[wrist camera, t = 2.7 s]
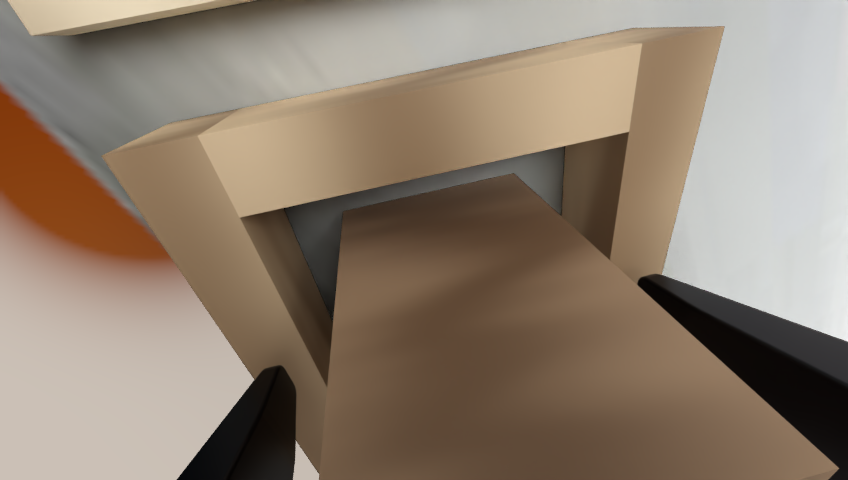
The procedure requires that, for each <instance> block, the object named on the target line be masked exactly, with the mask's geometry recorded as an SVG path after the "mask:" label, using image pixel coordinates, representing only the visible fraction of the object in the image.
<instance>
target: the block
mask: <svg viewBox="0 0 848 480" xmlns="http://www.w3.org/2000/svg"><path fill="white" fill-rule="evenodd" d="M838 469H839V468H838V467H837V466H836V465H835V464H834V463H833V462H832V461H831V460H829V459H828V458H827V457H826V456H825V455H824V454H823V453H822V452H821V451H820V450H818V449H817V448H816V447H815V446H814V445H813V444H812V443H811V442H810V441H809V440H807V439H806V438H805V437H804V436H803V435H802V434H801V433H800V432H799V431H798V430H796V429H795V428H794V427H793V426H792V425H791V424H790V423H789V422H788V421H786V420H785V419H784V418H783V417H782V416H781V415H780V414H779V413H778V412H777V411H775V410H774V409H773V408H772V407H771V406H770V405H769V404H768V403H767V402H766V401H764V400H763V399H762V398H761V397H760V396H759V395H758V394H757V393H756V392H755V391H753V390H752V389H751V388H750V387H749V386H748V385H747V384H746V383H745V382H743V381H742V380H741V379H740V378H739V377H738V376H737V375H736V374H735V373H734V372H732V371H731V370H730V369H729V368H728V367H727V366H726V365H725V364H724V363H723V362H721V361H720V360H719V359H718V358H717V357H716V356H715V355H714V354H713V353H712V352H710V351H709V350H708V349H707V348H706V347H705V346H704V345H703V344H702V343H701V342H699V341H698V340H697V339H696V338H695V337H694V336H693V335H692V334H691V333H689V332H688V331H687V330H686V329H685V328H684V327H683V326H682V325H681V324H680V323H678V322H677V321H676V320H675V319H674V318H673V317H672V316H671V315H670V314H669V313H667V312H666V311H665V310H664V309H663V308H662V307H661V306H660V305H659V304H658V303H656V302H655V301H654V300H653V299H652V298H651V297H650V296H649V295H648V294H646V293H645V292H644V291H643V290H642V289H641V288H640V287H639V286H638V285H637V284H635V283H634V282H633V281H632V280H631V279H630V278H629V277H628V276H627V275H626V274H624V273H623V272H622V271H621V270H620V269H619V268H618V267H617V266H616V265H615V264H613V263H612V262H611V261H610V260H609V259H608V258H607V257H606V256H605V255H604V254H602V253H601V252H600V251H599V250H598V249H597V248H596V247H595V246H594V245H592V244H591V243H590V242H589V241H588V240H587V239H586V238H585V237H584V236H583V235H581V234H580V233H579V232H578V231H577V230H576V229H575V228H574V227H573V226H572V225H570V224H569V223H568V222H567V221H566V220H565V219H564V218H563V217H562V216H561V215H559V214H558V213H557V212H556V211H555V210H554V209H553V208H552V207H551V206H549V205H548V204H547V203H546V202H545V201H544V200H543V199H542V198H541V197H540V196H538V195H537V194H536V193H535V192H534V191H533V190H532V189H531V188H530V187H529V186H527V185H526V184H525V183H524V182H523V181H522V180H521V179H520V178H519V177H518V176H516V175H515V174H514V173H512V174H508V175H503V176H499V177H494V178H490V179H485V180H481V181H476V182H472V183H467V184H463V185H458V186H454V187H449V188H445V189H440V190H436V191H431V192H427V193H422V194H418V195H413V196H409V197H404V198H400V199H395V200H391V201H386V202H382V203H378V204H373V205H369V206H364V207H360V208H355V209H351V210H346V211H343V219H342V230H341V241H340V252H339V263H338V274H337V285H336V296H335V308H334V319H333V330H332V341H331V352H330V363H329V374H328V385H327V397H326V408H325V419H324V430H323V441H322V452H321V463H320V474H319V480H828V479H829V478H830V477H831V476H832V475H833V474H834V473H835V472H836V471H837V470H838Z"/></svg>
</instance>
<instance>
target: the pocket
mask: <svg viewBox="0 0 848 480" xmlns="http://www.w3.org/2000/svg"><path fill="white" fill-rule="evenodd" d="M724 27H725V26H717V27H663V28H631V29H626V30H621V31H616V32H611V33H607V34H602V35H597V36H592V37H587V38H582V39H577V40H572V41H568V42H563V43H558V44H553V45H548V46H543V47H538V48H533V49H529V50H524V51H519V52H514V53H509V54H504V55H499V56H494V57H490V58H485V59H480V60H475V61H470V62H465V63H460V64H455V65H451V66H446V67H441V68H436V69H431V70H426V71H421V72H416V73H412V74H407V75H402V76H397V77H392V78H387V79H382V80H377V81H373V82H368V83H363V84H358V85H353V86H348V87H343V88H338V89H334V90H329V91H324V92H319V93H314V94H309V95H304V96H299V97H295V98H290V99H285V100H280V101H275V102H270V103H265V104H260V105H256V106H251V107H246V108H241V109H236V110H231V111H226V112H221V113H217V114H212V115H207V116H202V117H197V118H192V119H187V120H182V121H178V122H173V123H169V124H167V125H165V126H163V127H161V128H159V129H157V130H155V131H152V132H150V133H148V134H146V135H144V136H142V137H140V138H138V139H136V140H134V141H131V142H129V143H127V144H125V145H123V146H121V147H119V148H117V149H115V150H113V151H110V152H108V153H106V154H104V155H102V157H103V159H104V160H105V162H106V163H107V165H108V166H109V168H110V169H111V171H112V172H113V174H114V175H115V176H116V178H117V179H118V181H119V182H120V184H121V185H122V187H123V188H124V190H125V191H126V193H127V194H128V195H129V197H130V198H131V200H132V201H133V203H134V204H135V206H136V207H137V209H138V210H139V212H140V213H141V214H142V216H143V217H144V219H145V220H146V222H147V223H148V225H149V226H150V228H151V229H152V231H153V232H154V234H155V235H156V236H157V238H158V239H159V241H160V242H161V244H162V245H163V247H164V248H165V250H166V251H167V253H168V254H169V255H170V257H171V258H172V260H173V261H174V263H175V264H176V266H177V267H178V269H179V270H180V271H181V273H182V274H183V276H184V277H185V279H186V280H187V282H188V283H189V285H190V286H191V288H192V289H193V291H194V292H195V293H196V295H197V296H198V298H199V299H200V301H201V302H202V304H203V305H204V307H205V308H206V309H207V311H208V312H209V314H210V315H211V317H212V318H213V320H214V321H215V323H216V324H217V326H218V327H219V328H220V330H221V331H222V333H223V334H224V336H225V337H226V339H227V340H228V342H229V343H230V345H231V346H232V348H233V349H234V350H235V352H236V353H237V355H238V356H239V358H240V359H241V361H242V362H243V364H244V365H245V367H246V368H247V369H248V371H249V372H250V374H251V375H252V377H253V378H254V380H255V379H256V378H257V376H258V375H259V374H260V372H261V371H262V370H263V369H265V368H268V367H272V366H276V365H282V366H283V367H284V368H285V369H286V371H287V373H288V374H289V376H290V378H291V380H292V381H293V383H294V385H295V388H296V394H297V397H296V441H297V442H298V444H299V445H300V447H301V448H302V450H303V451H304V453H305V454H306V456H307V457H308V459H309V460H310V462H311V463H312V464H313V466H314V467H315V469H316V470H317V472H318V473H319V474H320V463H321V452H322V441H323V430H324V419H325V408H326V397H327V385H328V374H329V363H330V352H331V341H332V330H333V322H332V320H331V318H330V315H329V313H328V311H327V309H326V306H325V304H324V302H323V299H322V297H321V295H320V292H319V290H318V288H317V285H316V283H315V281H314V278H313V276H312V274H311V271H310V269H309V267H308V264H307V262H306V260H305V257H304V255H303V253H302V250H301V248H300V246H299V244H298V241H297V239H296V237H295V234H294V232H293V230H292V227H291V225H290V223H289V220H288V218H287V216H286V213H285V211H284V209H283V208H286V207H290V206H295V205H299V204H304V203H308V202H313V201H317V200H322V199H326V198H331V197H335V196H340V195H345V194H349V193H354V192H358V191H363V190H367V189H372V188H376V187H381V186H385V185H390V184H394V183H399V182H404V181H408V180H413V179H417V178H422V177H426V176H431V175H435V174H440V173H444V172H449V171H453V170H458V169H463V168H467V167H472V166H476V165H481V164H485V163H490V162H494V161H499V160H503V159H508V158H512V157H517V156H521V155H526V154H531V153H535V152H540V151H544V150H549V149H553V148H558V147H562V146H565V159H564V178H563V197H562V217H563V218H564V219H565V220H566V221H567V222H568V223H569V224H570V225H572V226H573V227H574V228H575V229H576V230H577V231H578V232H579V233H580V234H581V235H583V236H584V237H585V238H586V239H587V240H588V241H589V242H590V243H591V244H592V245H594V246H595V247H596V248H597V249H598V250H599V251H600V252H601V253H602V254H604V255H605V256H606V257H607V258H608V259H609V260H610V261H611V262H612V263H613V264H615V265H616V266H617V267H618V268H619V269H620V270H621V271H622V272H623V273H624V274H626V275H627V276H628V277H629V278H630V279H631V280H632V281H633V282H634V283H635V284H637V282H638V280H639V278H640V277H642V276H647V275H651V274H660V275H662V271H663V267H664V263H665V259H666V255H667V251H668V247H669V243H670V239H671V235H672V232H673V228H674V224H675V220H676V216H677V212H678V208H679V204H680V200H681V196H682V192H683V188H684V184H685V180H686V176H687V172H688V169H689V165H690V161H691V157H692V153H693V149H694V145H695V141H696V137H697V133H698V129H699V125H700V121H701V117H702V113H703V109H704V106H705V102H706V98H707V94H708V90H709V86H710V82H711V78H712V74H713V70H714V66H715V62H716V58H717V54H718V50H719V46H720V43H721V39H722V35H723V31H724Z"/></svg>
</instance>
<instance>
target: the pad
mask: <svg viewBox="0 0 848 480" xmlns="http://www.w3.org/2000/svg"><path fill="white" fill-rule="evenodd" d="M250 1H255V0H8V2H9V3H10V5H11V6H12V8H13V9H14V11H15V12H16V14H17V15H18V17H19V18H20V20H21V21H22V23H23V24H24V26H25V27H26V29H27V30H28V32H29V33H30V35H31V36H67V35H77V34H82V33H87V32H93V31H98V30H103V29H108V28H114V27H119V26H124V25H129V24H135V23H140V22H145V21H150V20H156V19H161V18H166V17H171V16H177V15H182V14H187V13H192V12H198V11H203V10H208V9H213V8H219V7H224V6H229V5H234V4H240V3H245V2H250Z"/></svg>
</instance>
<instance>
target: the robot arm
mask: <svg viewBox="0 0 848 480" xmlns="http://www.w3.org/2000/svg"><path fill="white" fill-rule="evenodd" d="M637 285H638V286H639V287H640V288H641V289H642V290H643V291H644V292H645V293H646V294H648V295H649V296H650V297H651V298H652V299H653V300H654V301H655V302H656V303H658V304H659V305H660V306H661V307H662V308H663V309H664V310H665V311H666V312H667V313H669V314H670V315H671V316H672V317H673V318H674V319H675V320H676V321H677V322H678V323H680V324H681V325H682V326H683V327H684V328H685V329H686V330H687V331H688V332H689V333H691V334H692V335H693V336H694V337H695V338H696V339H697V340H698V341H699V342H701V343H702V344H703V345H704V346H705V347H706V348H707V349H708V350H709V351H710V352H712V353H713V354H714V355H715V356H716V357H717V358H718V359H719V360H720V361H721V362H723V363H724V364H725V365H726V366H727V367H728V368H729V369H730V370H731V371H732V372H734V373H735V374H736V375H737V376H738V377H739V378H740V379H741V380H742V381H743V382H745V383H746V384H747V385H748V386H749V387H750V388H751V389H752V390H753V391H755V392H756V393H757V394H758V395H759V396H760V397H761V398H762V399H763V400H764V401H766V402H767V403H768V404H769V405H770V406H771V407H772V408H773V409H774V410H775V411H777V412H778V413H779V414H780V415H781V416H782V417H783V418H784V419H785V420H786V421H788V422H789V423H790V424H791V425H792V426H793V427H794V428H795V429H796V430H798V431H799V432H800V433H801V434H802V435H803V436H804V437H805V438H806V439H807V440H809V441H810V442H811V443H812V444H813V445H814V446H815V447H816V448H817V449H818V450H820V451H821V452H822V453H823V454H824V455H825V456H826V457H827V458H828V459H829V460H831V461H832V462H833V463H834V464H835V465H836V466H837V467H838V468H839V469H838V470H837V471H836V472H835V473H834V474H833V475H832V476H831V477H830V478H829V479H828V480H848V342H847V341H844V340H841V339H839V338H836V337H833V336H830V335H827V334H825V333H822V332H819V331H816V330H814V329H811V328H808V327H805V326H802V325H800V324H797V323H794V322H791V321H788V320H786V319H783V318H780V317H777V316H775V315H772V314H769V313H766V312H763V311H761V310H758V309H755V308H752V307H750V306H747V305H744V304H741V303H738V302H736V301H733V300H730V299H727V298H725V297H722V296H719V295H716V294H713V293H711V292H708V291H705V290H702V289H700V288H697V287H694V286H691V285H688V284H686V283H683V282H680V281H677V280H674V279H672V278H669V277H666V276H663V275H660V274H651V275H647V276H642V277H640V278H639V280H638V282H637ZM296 397H297V394H296V388H295V385H294V383H293V381H292V380H291V378H290V376H289V374H288V373H287V371H286V369H285V368H284V367H283V366H282V365H276V366H272V367H268V368H265V369H263V370H262V371H261V372H260V374H259V375H258V376H257V378H256V379H255V380H254V381H253V383H252V384H251V385H250V387H249V388H248V389H247V390H246V392H245V393H244V394H243V395H242V397H241V398H240V399H239V401H238V402H237V403H236V405H235V406H234V407H233V408H232V410H231V411H230V412H229V413H228V415H227V416H226V417H225V419H224V420H223V421H222V422H221V424H220V425H219V427H218V428H217V429H216V430H215V431H214V433H213V434H212V435H211V437H210V438H209V439H208V440H207V442H206V443H205V444H204V445H203V447H202V448H201V449H200V451H199V452H198V453H197V455H196V456H195V457H194V458H193V460H192V461H191V462H190V463H189V465H188V466H187V467H186V469H185V470H184V471H183V472H182V474H181V475H180V476H179V478H178V479H177V480H293V473H294V464H295V444H296Z"/></svg>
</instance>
